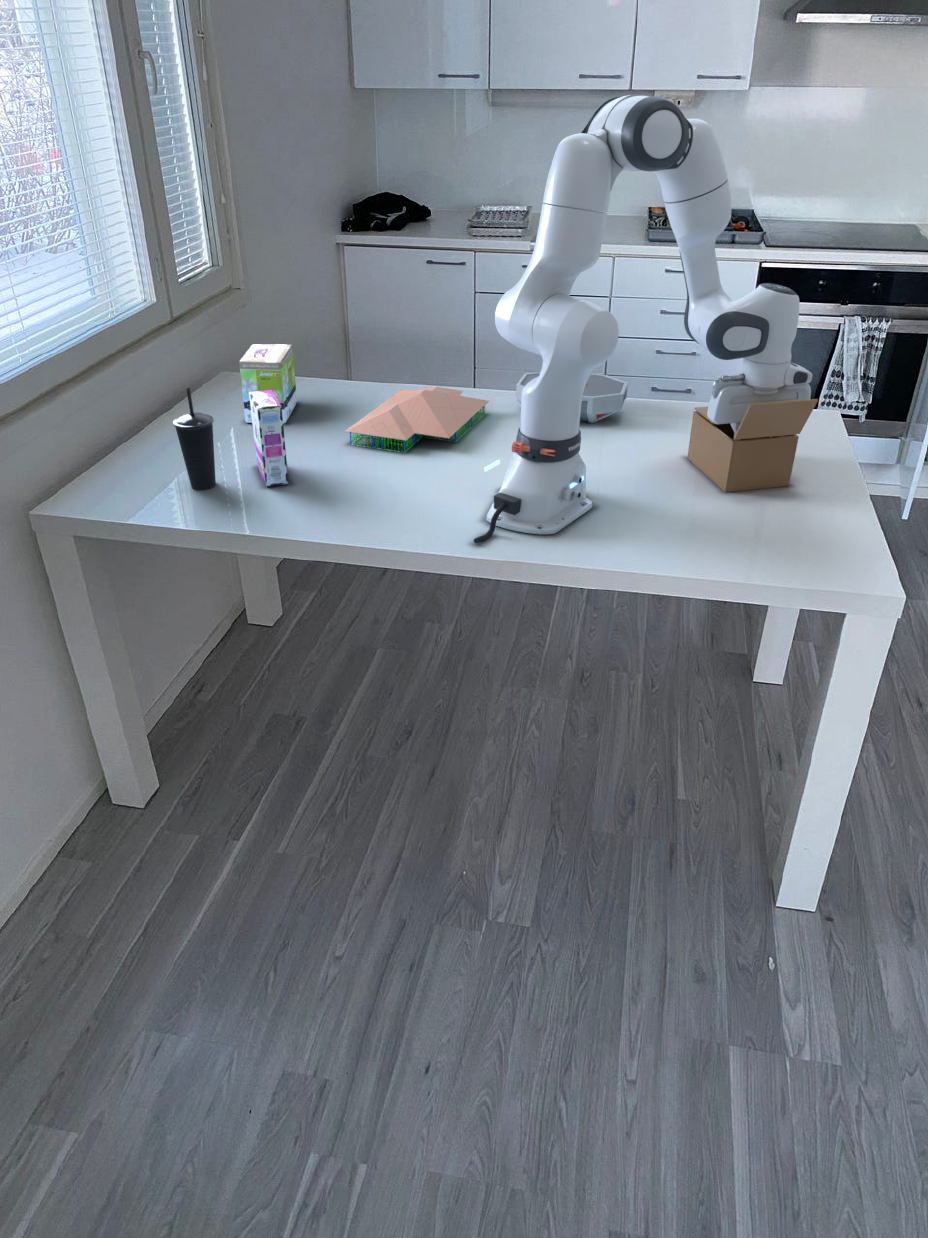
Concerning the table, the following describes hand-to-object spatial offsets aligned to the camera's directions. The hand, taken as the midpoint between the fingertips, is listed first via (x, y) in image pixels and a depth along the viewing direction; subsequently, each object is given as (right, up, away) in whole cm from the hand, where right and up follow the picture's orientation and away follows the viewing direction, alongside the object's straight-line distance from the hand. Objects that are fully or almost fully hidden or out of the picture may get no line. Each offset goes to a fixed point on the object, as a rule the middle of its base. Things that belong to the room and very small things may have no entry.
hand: (752, 440), depth 187 cm
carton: (-1, -5, +8) cm, 9 cm away
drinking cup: (-110, -9, +2) cm, 111 cm away
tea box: (-104, +14, +38) cm, 111 cm away
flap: (+1, +2, -9) cm, 9 cm away
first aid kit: (-32, +13, +37) cm, 51 cm away
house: (-67, +9, +30) cm, 74 cm away
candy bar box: (-97, -6, +6) cm, 97 cm away
